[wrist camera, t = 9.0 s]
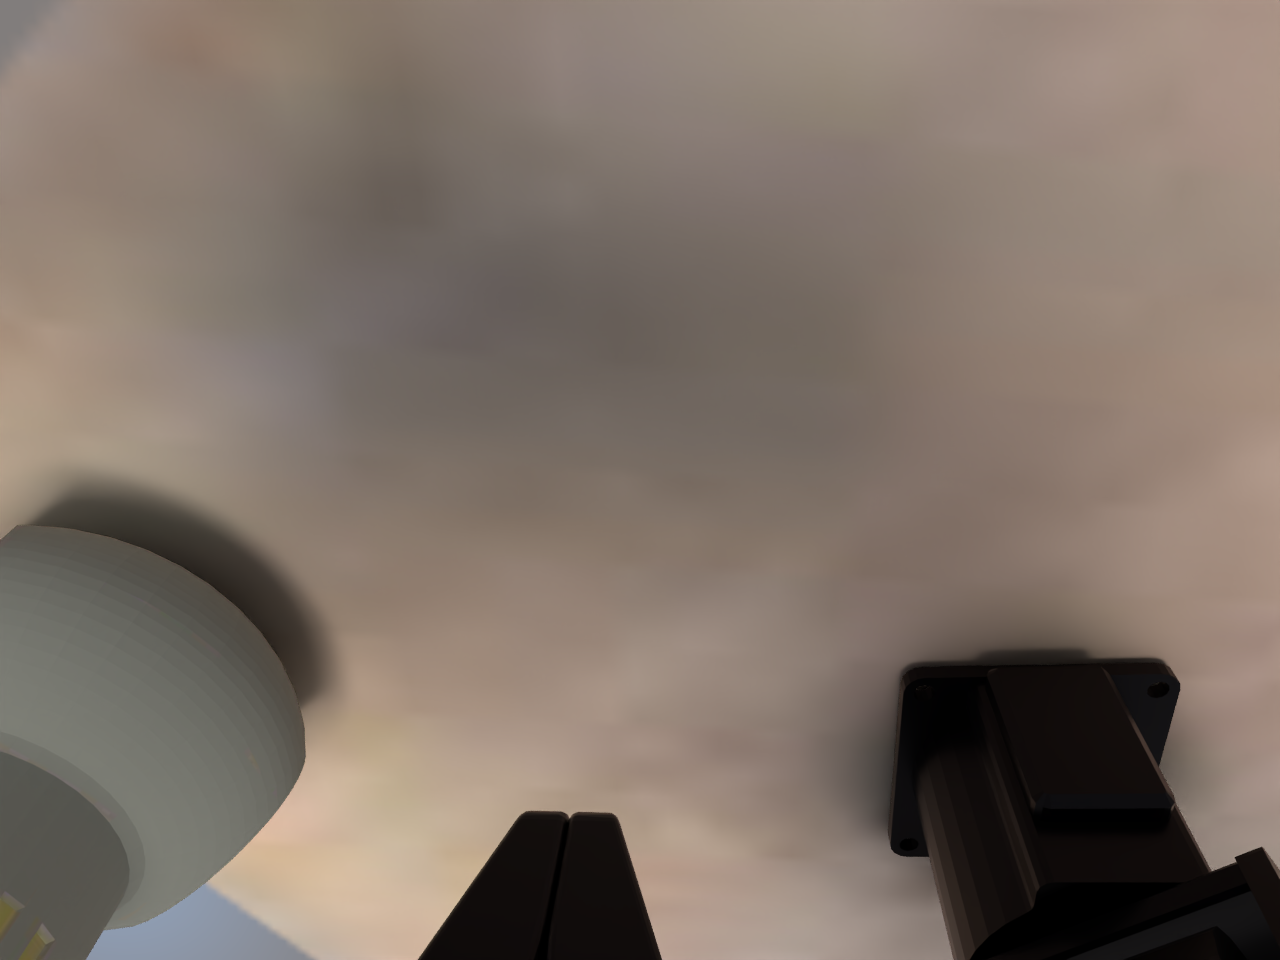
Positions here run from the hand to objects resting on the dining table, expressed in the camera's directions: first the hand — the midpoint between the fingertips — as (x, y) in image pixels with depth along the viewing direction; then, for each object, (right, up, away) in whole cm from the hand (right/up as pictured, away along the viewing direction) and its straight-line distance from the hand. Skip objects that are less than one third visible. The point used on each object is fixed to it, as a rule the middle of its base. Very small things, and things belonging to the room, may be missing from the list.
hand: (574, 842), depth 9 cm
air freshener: (-13, -1, +17) cm, 21 cm away
